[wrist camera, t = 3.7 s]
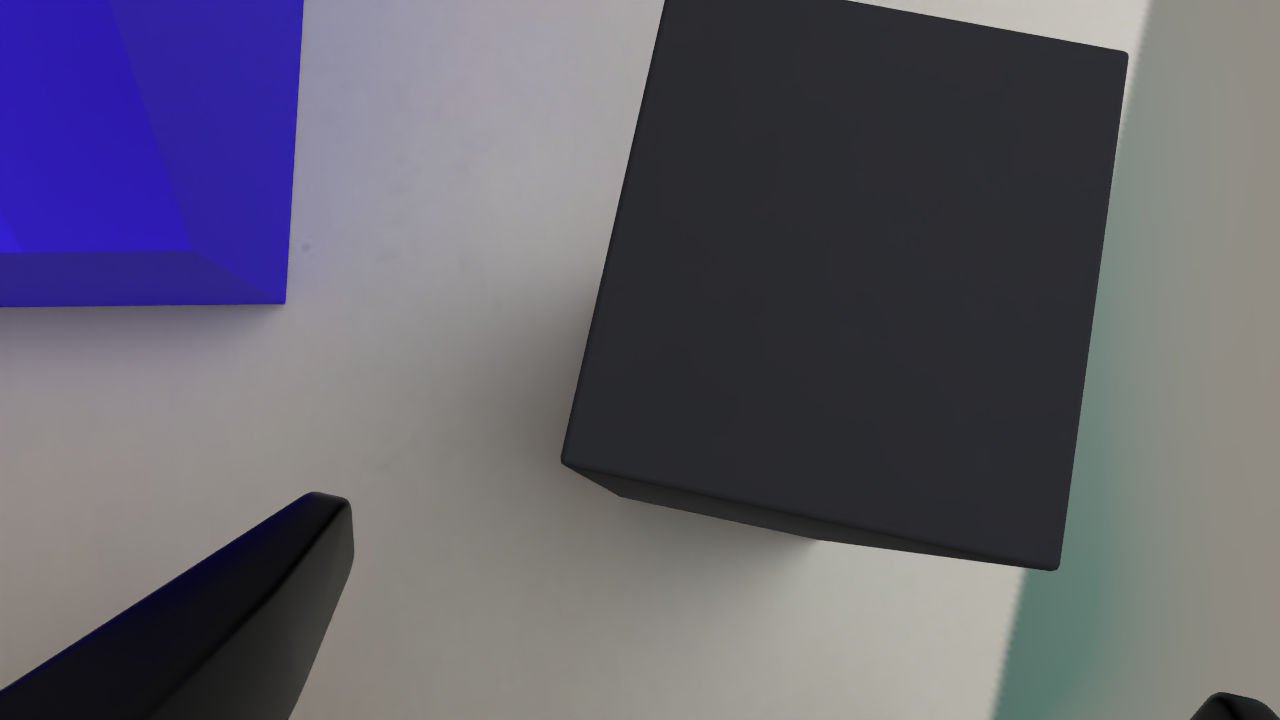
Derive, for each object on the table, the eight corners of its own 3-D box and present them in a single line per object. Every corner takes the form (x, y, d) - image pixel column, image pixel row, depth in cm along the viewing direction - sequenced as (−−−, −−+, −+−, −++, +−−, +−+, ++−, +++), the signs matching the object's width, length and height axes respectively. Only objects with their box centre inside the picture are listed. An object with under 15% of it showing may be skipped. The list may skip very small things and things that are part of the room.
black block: (821, 540, 20) (1062, 573, 8) (617, 495, 20) (558, 463, 8) (860, 318, 21) (1133, 49, 9) (664, 278, 21) (672, -36, 9)
